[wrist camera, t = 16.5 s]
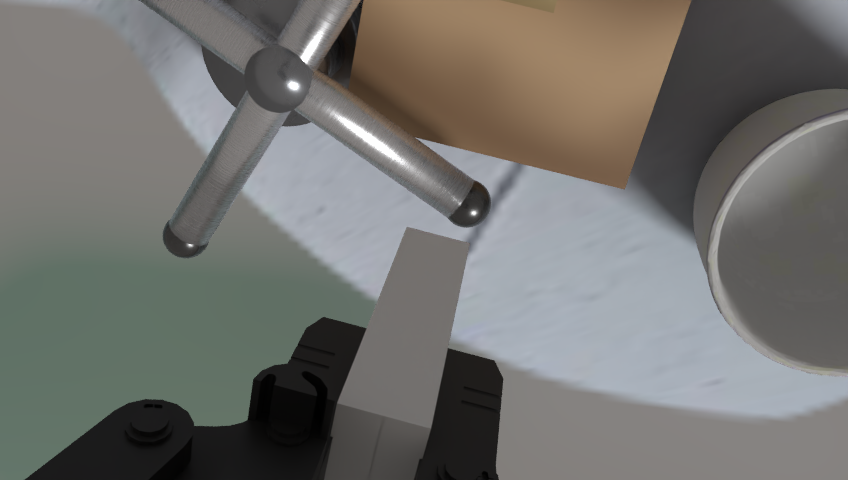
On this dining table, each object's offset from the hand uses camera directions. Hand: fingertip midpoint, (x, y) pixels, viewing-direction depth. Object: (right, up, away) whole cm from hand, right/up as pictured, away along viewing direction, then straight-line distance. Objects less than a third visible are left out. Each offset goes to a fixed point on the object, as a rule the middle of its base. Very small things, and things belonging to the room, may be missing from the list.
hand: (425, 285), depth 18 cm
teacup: (+19, +4, +17) cm, 26 cm away
